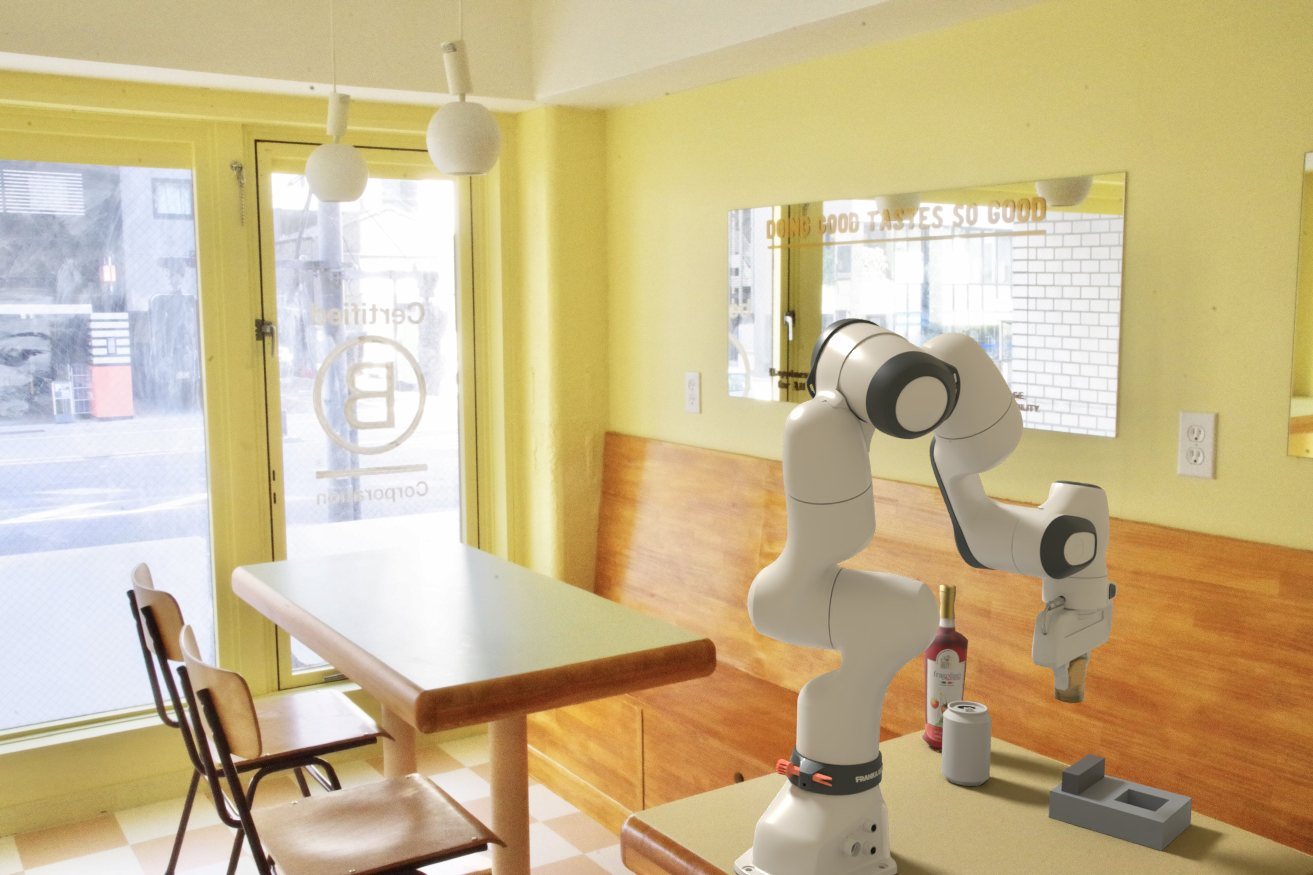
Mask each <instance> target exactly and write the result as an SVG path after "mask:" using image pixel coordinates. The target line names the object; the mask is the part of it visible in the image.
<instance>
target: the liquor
mask: <svg viewBox="0 0 1313 875" xmlns="http://www.w3.org/2000/svg"><path fill="white" fill-rule="evenodd" d="M956 592H957V586H956V585H953V584H940V585H939V600H940V606H939V611H940V624H939V629H938V632H937V635H936V637H935V639H934V641H933V642H932V644H931V645H930V646H929V647H928V648H927V649H926V650H925V651H924V652H923V654H924V659H923V660H924V661H923V662H924V663H923V664H924V666H923V667H924V688H925V689H924V695H925V696H924V698H925V700H924V702H925V705H924V706H925V708H924V709H925V712H924V714H925V715H924V716H925V718H924V719H925V720H924V733H923V735H922V737H921V738H922V739H923V740H924V742H925V743H926V744H927V745H928V746H929V747H930V748H931V749H934V750H937V751H942V738H943V713H944V712H945V711H946V710H947V709H948V704H949V703H950V702H953V701H964V692H965V681H966V673H967V658H968V648H969V647H968V646H969V639H968V638H967V637H966V636H965V635H963V633H960V632H958V631H957V630H956V615H955V601H956V596H957V593H956Z"/></svg>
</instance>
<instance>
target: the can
mask: <svg viewBox="0 0 1313 875" xmlns="http://www.w3.org/2000/svg"><path fill="white" fill-rule="evenodd" d="M988 708H989V707H988V706H987V705H985V704H982V703H981V702H975V701H970V700H963V701H953V702H950V703H949V704H948V709H947V710H946V711H945V712H944V713H943V738H942V750H941V767H940V768H941V769H940V770H941V774H942V775H943V776H944V777H945V778H946V780H947V781H948V782H951V783H953V784H955V785H959V786H964V787H965V786H966V787H975V786H981V785H982V784H984V783H985V782H986V781H988V779H989V778H990V776H991V775H990V773H991V746H992V725H993V724H992V723H993V721H992V720H993V719H992V716H991V715H990V713H988V710H989V709H988Z"/></svg>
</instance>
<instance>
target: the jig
mask: <svg viewBox="0 0 1313 875" xmlns="http://www.w3.org/2000/svg"><path fill="white" fill-rule="evenodd" d="M1105 770H1106V757H1105V756H1100V755H1095V754H1092V753H1088V754H1087V755H1086V756H1083V757H1082V758H1081V759H1079V760H1077V761H1075V763H1072V764H1071V765H1070V766H1068V767H1067V768H1065V769H1064V770H1062V772H1061V783H1060V784H1057V785H1056V786H1055V787H1052V789H1049V804H1048V805H1049V806H1048V818H1050V819H1054V820H1057V821H1061V822H1064V823H1067V824H1071V825H1074V826H1077V827H1081V828H1084V829H1087V830H1091V831H1094V832H1097V833H1100V834H1103V835H1108V836H1110V837H1114V838H1117V839H1120V840H1124V841H1128V842H1131V843H1134V844H1138V845H1139V846H1140V845H1141V846H1144V847H1147V848H1150V849H1153V850H1158V851H1163V850H1165V848H1166V847H1168V846H1169V845H1170V844H1171V843H1172V842H1174V840H1176V838H1177V837H1178V836H1180V835H1181V834H1182V833H1183V832H1184V831H1185V830H1186V829H1188V828H1189V827H1190V826H1191V825H1192V824H1191V823H1192V805H1193V803H1192V802H1193V797H1189V796H1187V795H1183V794H1179V793H1175V792H1171V791H1168V790H1165V789H1164V790H1163V789H1160V788H1157V787H1152V786H1149V785H1145V784H1141V783H1137V782H1133V781H1130V780H1126V779H1123V778H1118V777H1116V776H1111V775H1107V774H1105V773H1106V772H1105Z"/></svg>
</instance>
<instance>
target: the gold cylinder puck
mask: <svg viewBox="0 0 1313 875" xmlns="http://www.w3.org/2000/svg"><path fill="white" fill-rule="evenodd" d="M1085 674H1086V675H1087V668H1086V659H1085V658H1084V657H1081V656H1079V657H1077V658H1075V659H1073V660H1071V661H1070V663H1069V667H1068V675H1069V677H1071V682H1070V684H1071V686H1070V688H1068V689H1066V690H1060V689H1056V688H1055V681H1054V687H1053V698H1054V699H1055V700H1057V701H1059V702H1063V703H1068V704H1069V703H1070V704H1079V703H1083V702H1084V701H1085V696H1086V695H1085V691H1086V678H1085Z"/></svg>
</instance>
